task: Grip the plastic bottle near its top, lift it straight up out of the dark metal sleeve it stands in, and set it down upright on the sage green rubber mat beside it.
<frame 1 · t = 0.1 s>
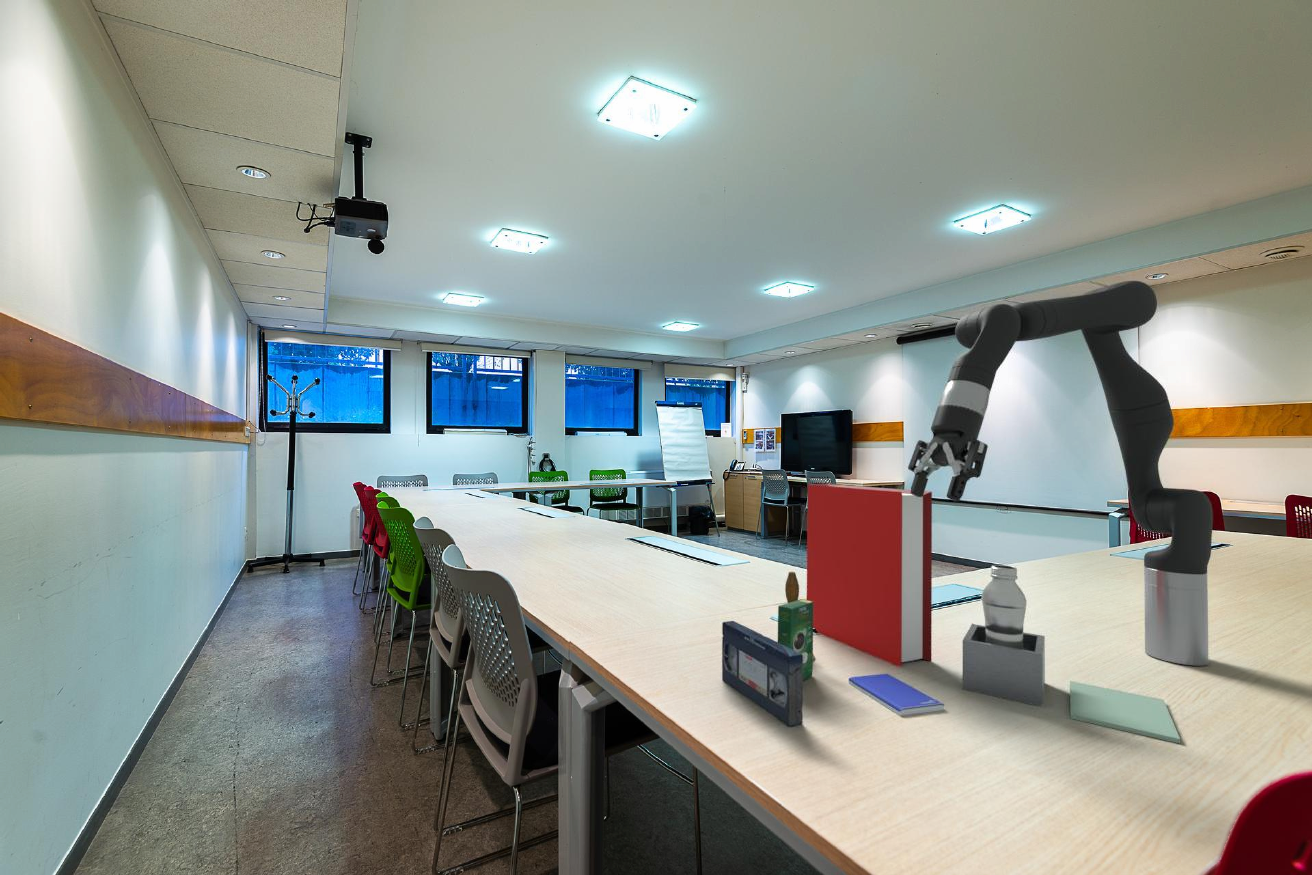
hand: (933, 497, 98), 31 cm above the table, tool tilted 20°, fingers open, 8 cm apart
mat: (1118, 710, 87), on the table
hard drive: (893, 700, 91), on the table
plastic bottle: (1004, 687, 96), resting in sleeve
vhs cassette tape: (758, 702, 88), on the table
sleeve: (1004, 685, 96), on the table
coffee box: (795, 681, 96), on the table
book: (860, 643, 117), on the table
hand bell: (792, 657, 108), on the table
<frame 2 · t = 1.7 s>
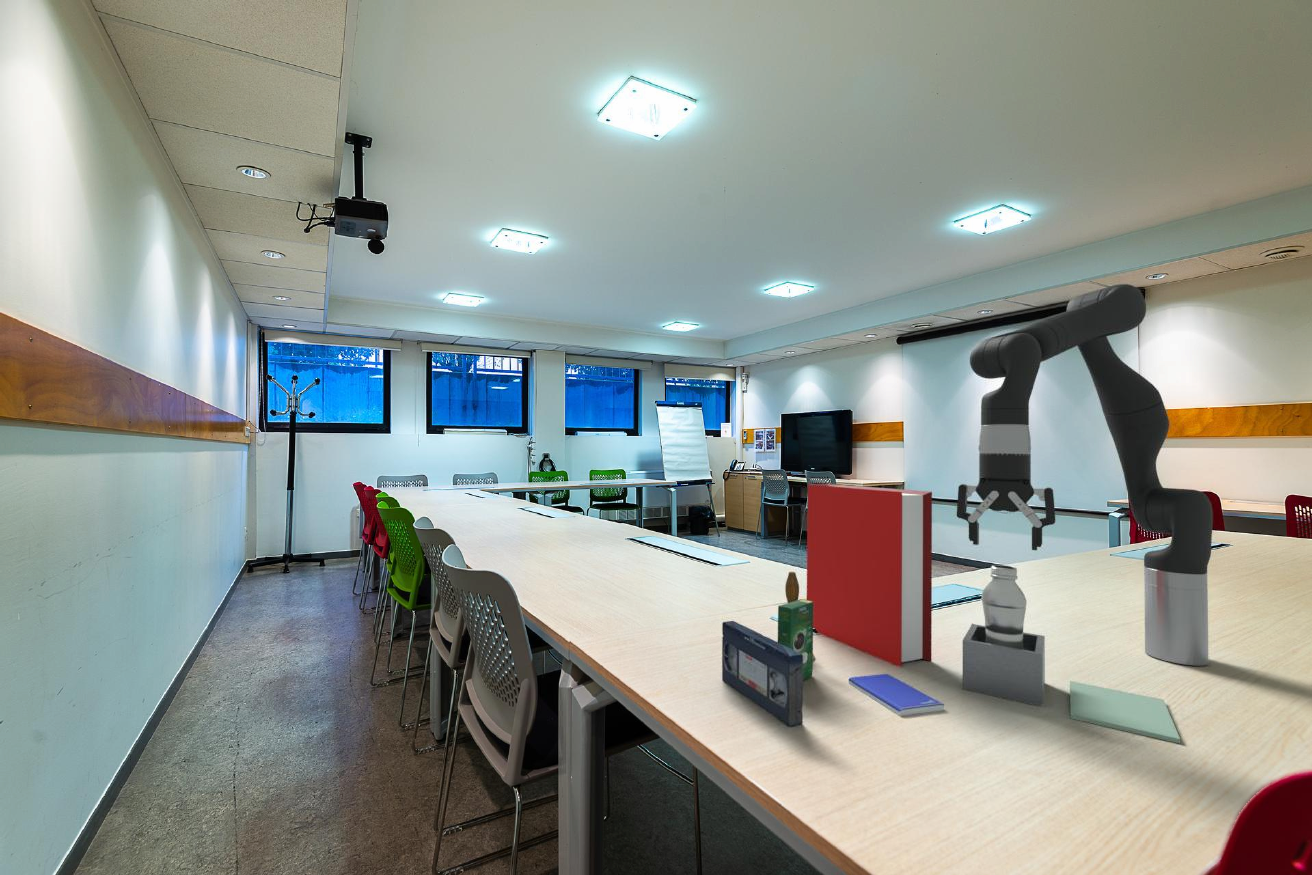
hand: (1004, 546, 97), 23 cm above the table, tool pointing down, fingers open, 8 cm apart
nothing on the table moved.
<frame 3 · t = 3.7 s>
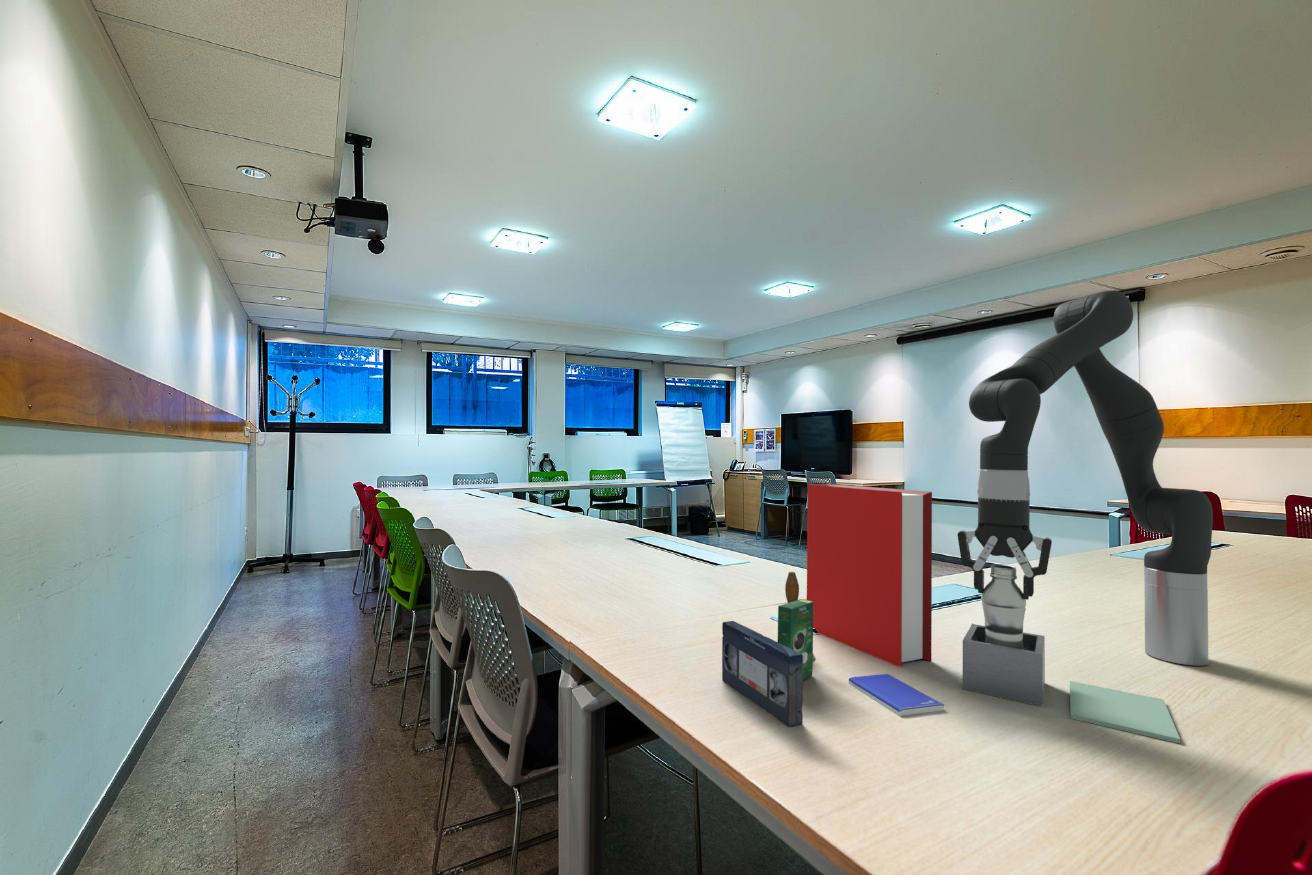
hand: (1002, 595, 96), 15 cm above the table, tool pointing down, fingers closed on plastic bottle, 6 cm apart
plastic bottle: (1004, 686, 96), resting in sleeve, touching gripper
everything else where it was.
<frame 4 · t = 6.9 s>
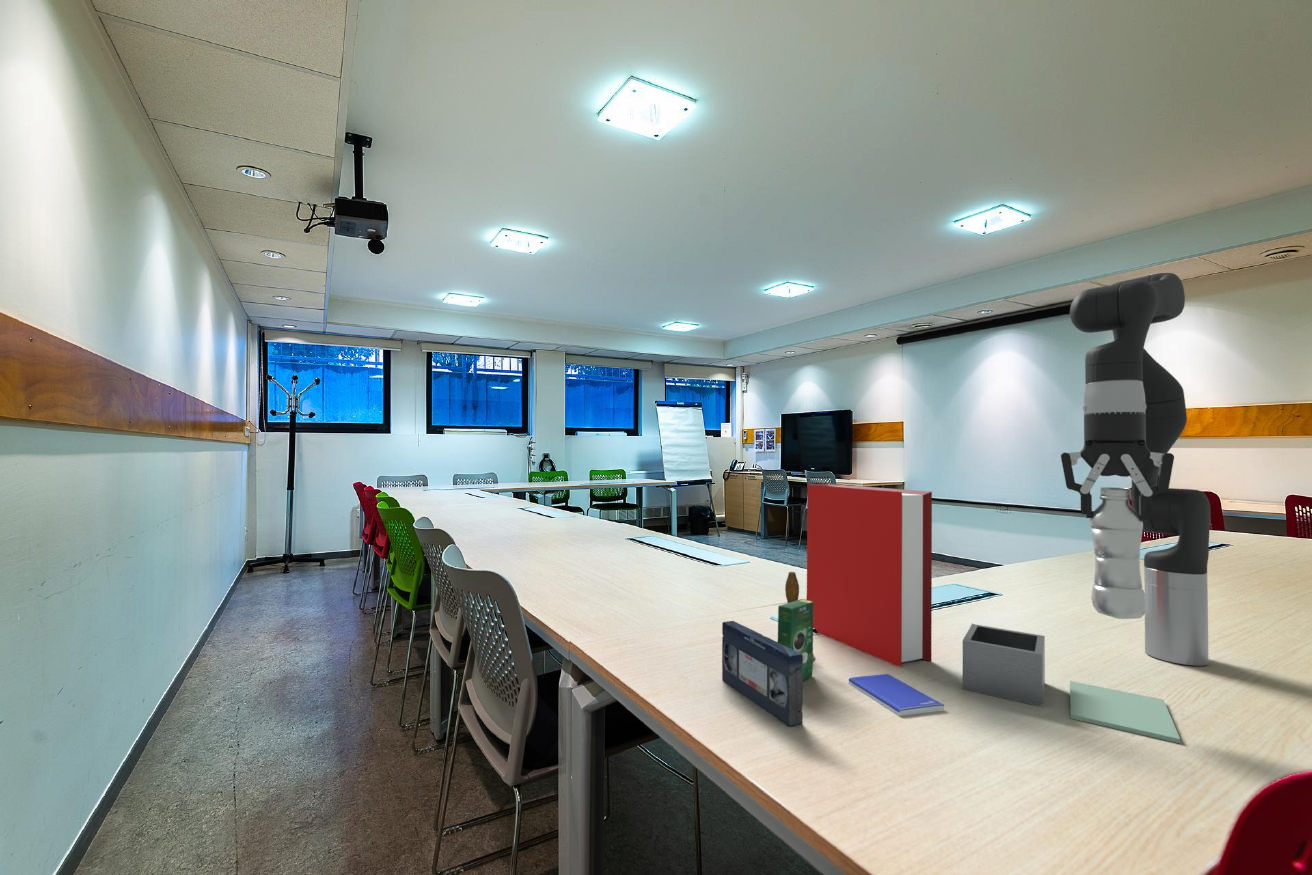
hand: (1115, 518, 88), 29 cm above the table, tool pointing down, fingers closed on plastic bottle, 6 cm apart
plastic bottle: (1118, 618, 88), point 14 cm above the table, touching gripper
everything else where it was.
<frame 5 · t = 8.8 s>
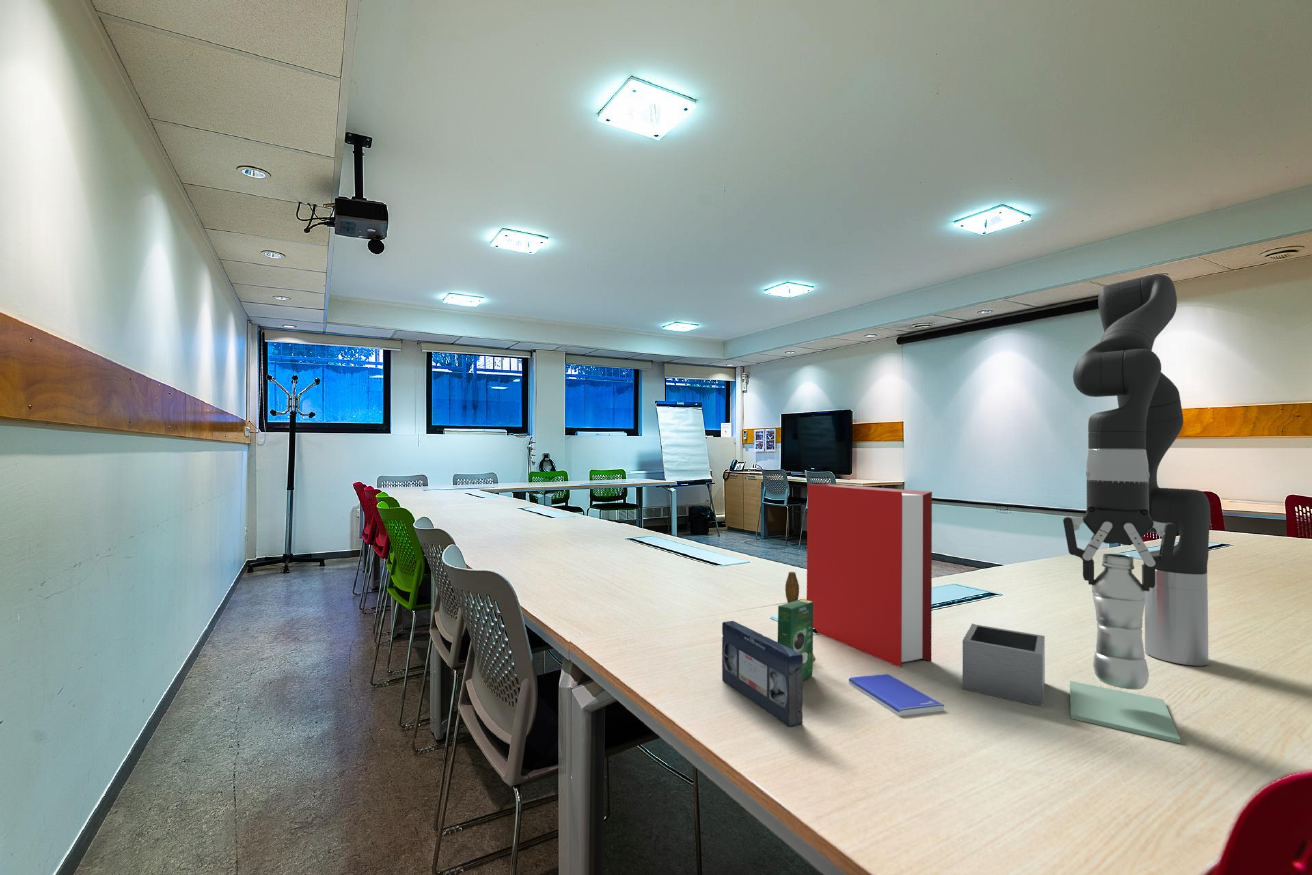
hand: (1117, 586, 88), 19 cm above the table, tool pointing down, fingers closed on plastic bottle, 6 cm apart
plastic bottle: (1120, 687, 87), point 3 cm above the table, touching gripper
everything else where it was.
when the fingers open (17 cm above the table, at t = 10.2 s): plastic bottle drops 1 cm, resting on mat.
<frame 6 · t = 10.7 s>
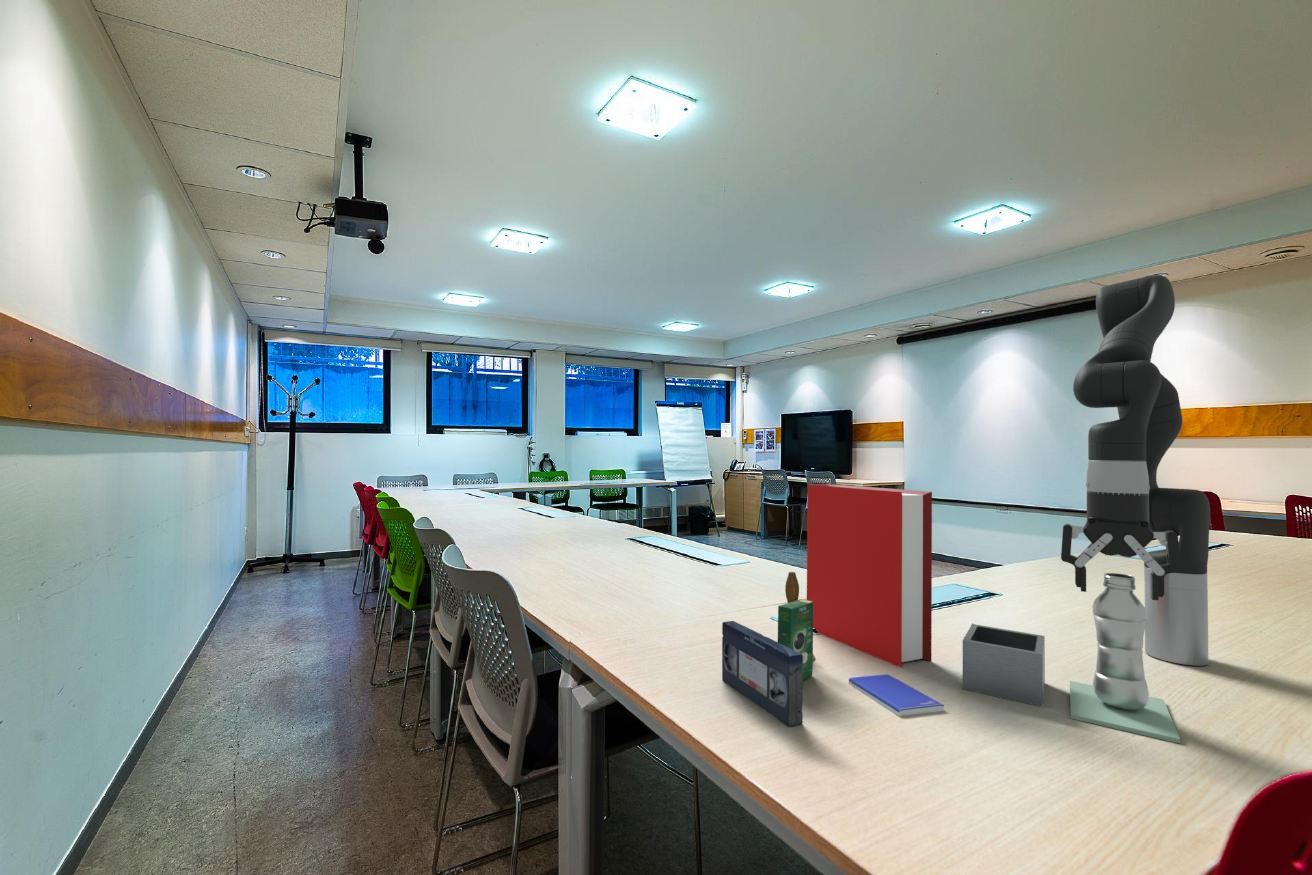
hand: (1117, 594, 88), 18 cm above the table, tool pointing down, fingers open, 8 cm apart
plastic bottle: (1120, 707, 87), resting on mat
everything else where it was.
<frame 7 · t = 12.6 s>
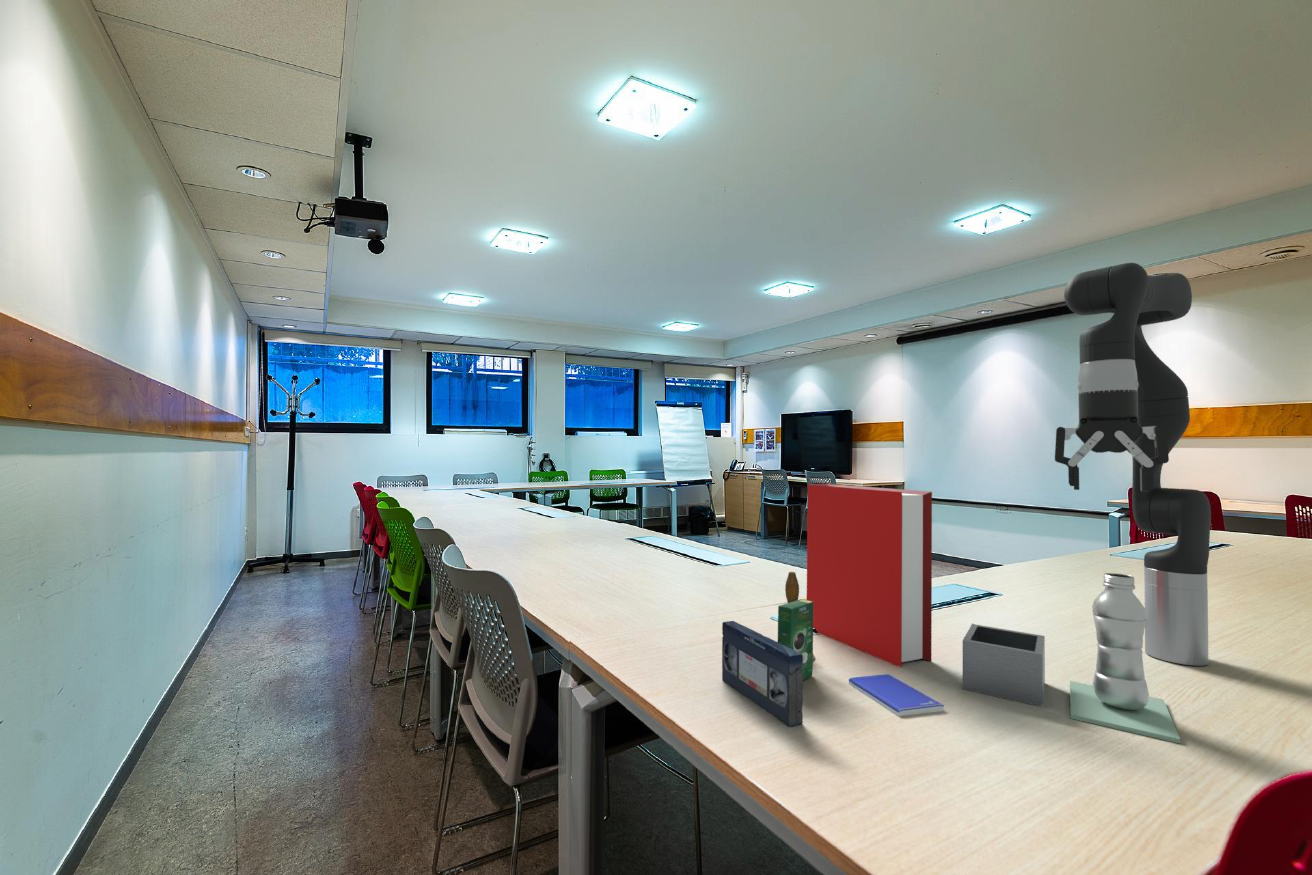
hand: (1109, 490, 91), 34 cm above the table, tool pointing down, fingers open, 8 cm apart
nothing on the table moved.
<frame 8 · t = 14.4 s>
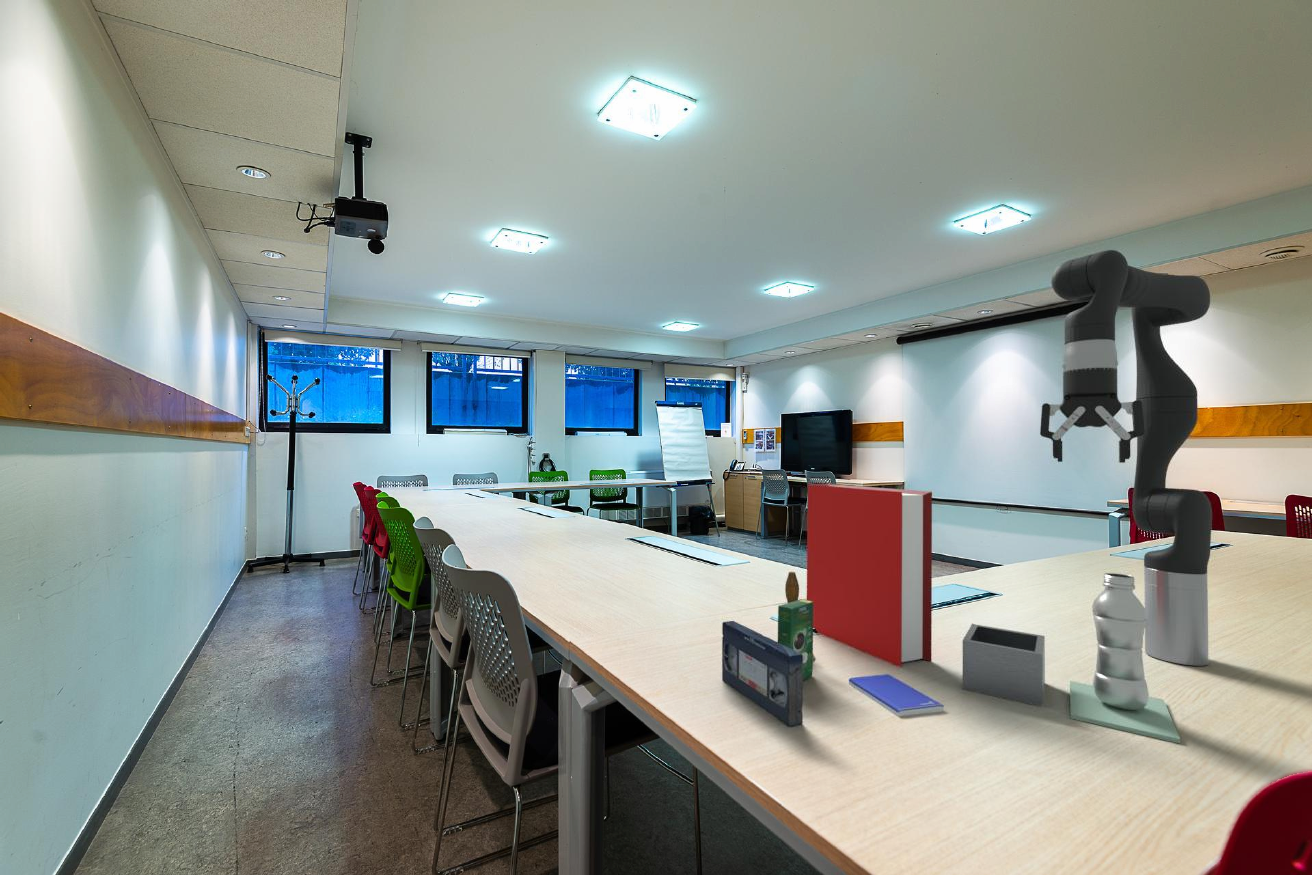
hand: (1090, 462, 98), 38 cm above the table, tool pointing down, fingers open, 8 cm apart
nothing on the table moved.
at the end: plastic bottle inside the target area on the mat (0.3 cm from its centre), point 0.4 cm above the mat's base; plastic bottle tilted 0°; the gripper is holding nothing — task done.
